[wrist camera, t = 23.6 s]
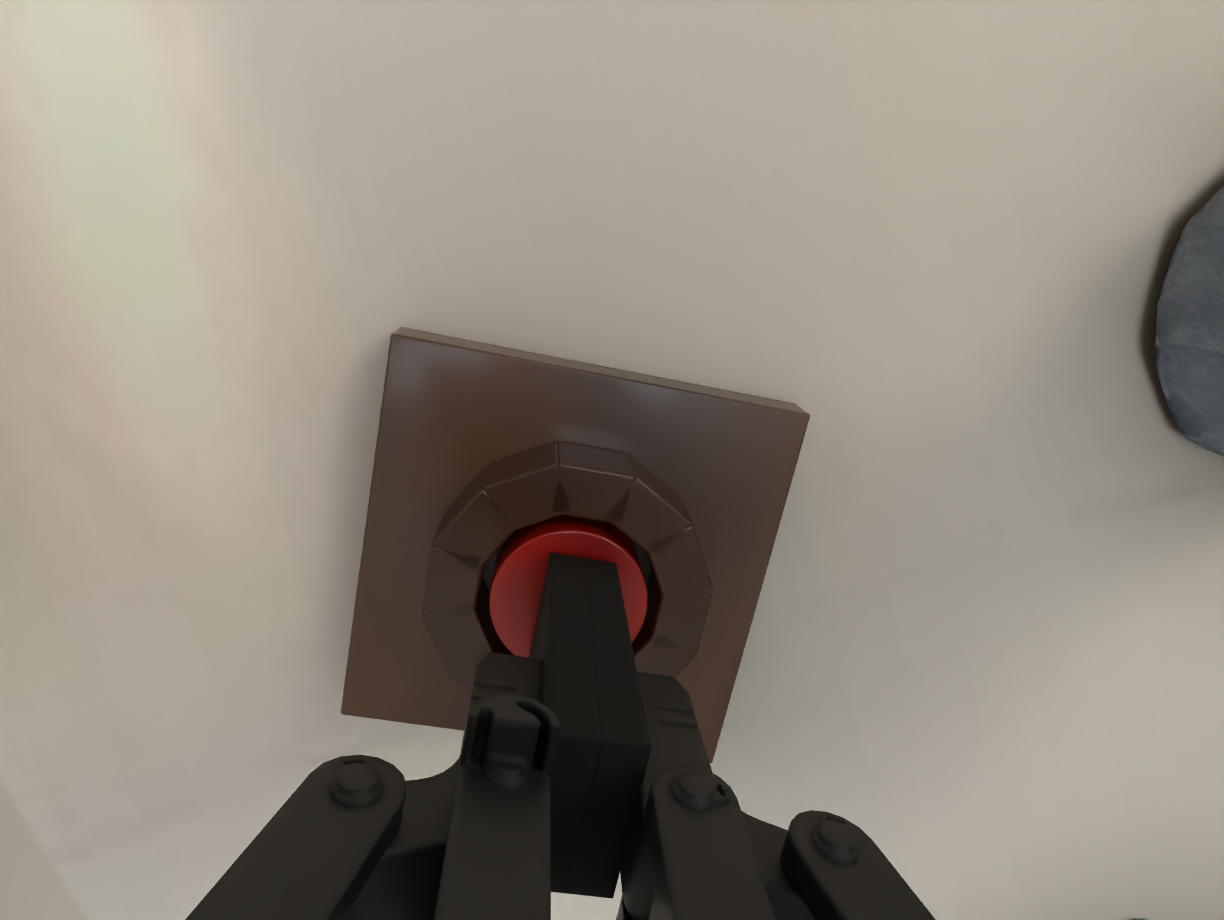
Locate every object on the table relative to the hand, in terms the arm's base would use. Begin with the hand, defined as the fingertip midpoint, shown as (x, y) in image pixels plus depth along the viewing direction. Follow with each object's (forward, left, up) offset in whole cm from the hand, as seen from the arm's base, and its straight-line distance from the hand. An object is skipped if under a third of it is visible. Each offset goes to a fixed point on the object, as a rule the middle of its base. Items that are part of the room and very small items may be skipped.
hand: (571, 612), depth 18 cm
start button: (0, 0, -2) cm, 2 cm away
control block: (0, 0, -3) cm, 3 cm away
